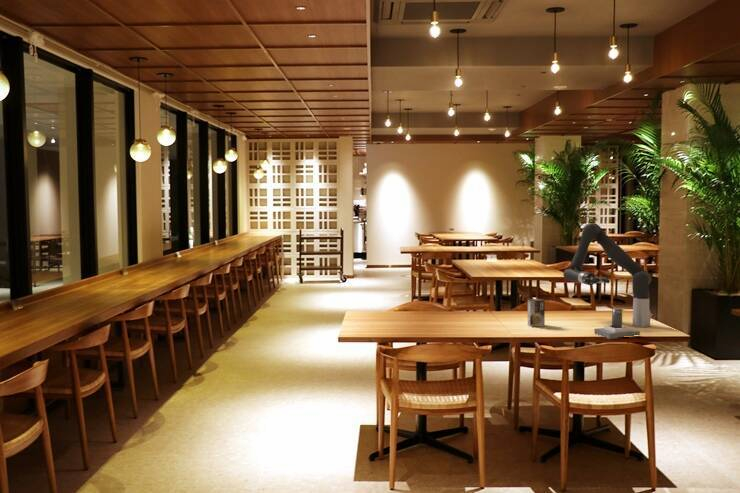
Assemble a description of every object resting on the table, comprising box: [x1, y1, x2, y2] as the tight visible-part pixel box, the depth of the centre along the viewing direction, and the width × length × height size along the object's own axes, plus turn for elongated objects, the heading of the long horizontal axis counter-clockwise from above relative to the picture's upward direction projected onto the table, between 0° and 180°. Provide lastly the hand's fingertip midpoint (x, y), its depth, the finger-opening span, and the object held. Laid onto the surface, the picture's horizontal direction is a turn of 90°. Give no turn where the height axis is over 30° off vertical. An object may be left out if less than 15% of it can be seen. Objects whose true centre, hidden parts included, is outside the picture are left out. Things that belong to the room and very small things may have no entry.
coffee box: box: [527, 298, 546, 327], centre depth 423 cm, size 9×6×16 cm
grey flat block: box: [593, 324, 641, 340], centre depth 396 cm, size 20×14×5 cm
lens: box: [611, 307, 623, 328], centre depth 395 cm, size 6×6×12 cm
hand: (602, 281), depth 414 cm, fingers open, 8 cm apart
